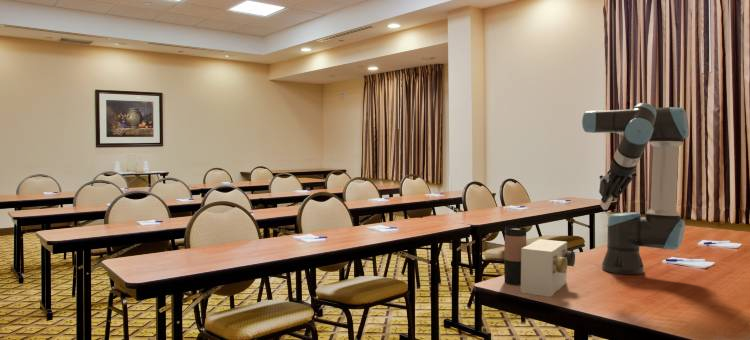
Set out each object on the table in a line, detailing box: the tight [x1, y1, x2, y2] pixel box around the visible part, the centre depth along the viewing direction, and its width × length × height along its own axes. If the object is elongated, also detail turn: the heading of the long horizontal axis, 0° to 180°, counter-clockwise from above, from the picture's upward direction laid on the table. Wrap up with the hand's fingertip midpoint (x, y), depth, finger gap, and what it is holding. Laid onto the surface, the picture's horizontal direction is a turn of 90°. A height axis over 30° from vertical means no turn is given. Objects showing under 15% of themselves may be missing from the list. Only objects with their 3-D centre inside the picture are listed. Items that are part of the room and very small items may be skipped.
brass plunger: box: [553, 257, 568, 274], centre depth 180 cm, size 13×5×5 cm, turn 58°
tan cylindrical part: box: [562, 250, 576, 267], centre depth 190 cm, size 13×5×5 cm, turn 58°
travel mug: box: [503, 226, 527, 286], centre depth 192 cm, size 8×8×20 cm
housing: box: [520, 238, 568, 298], centre depth 186 cm, size 10×22×15 cm, turn 148°
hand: (603, 206), depth 191 cm, fingers closed
